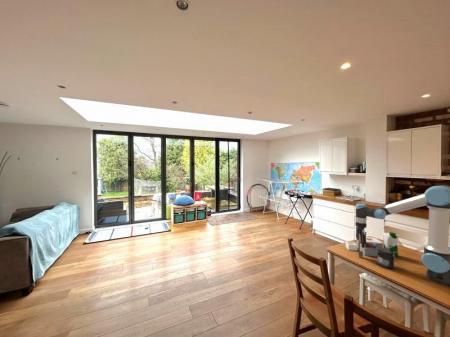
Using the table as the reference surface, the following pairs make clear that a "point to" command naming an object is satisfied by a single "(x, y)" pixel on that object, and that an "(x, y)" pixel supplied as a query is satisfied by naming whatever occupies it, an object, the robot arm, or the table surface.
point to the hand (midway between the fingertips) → (360, 249)
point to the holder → (351, 246)
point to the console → (372, 250)
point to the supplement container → (386, 258)
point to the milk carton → (391, 242)
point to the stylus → (359, 249)
